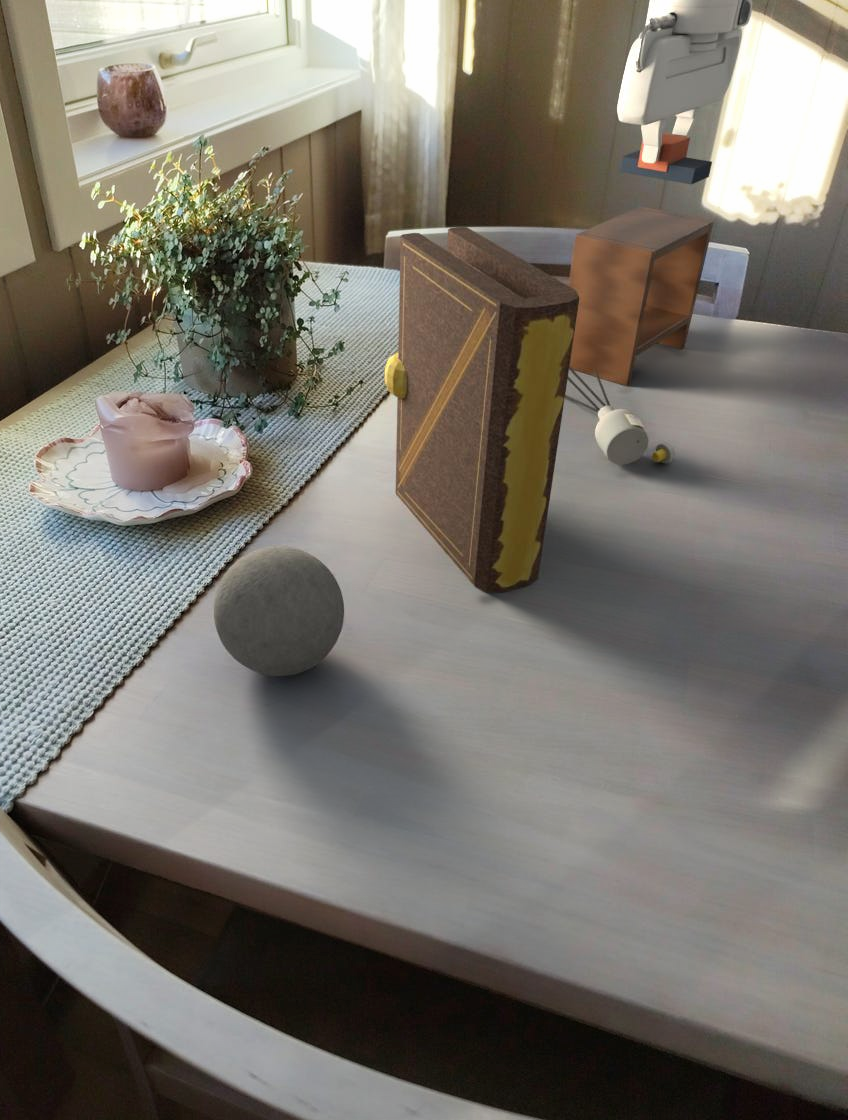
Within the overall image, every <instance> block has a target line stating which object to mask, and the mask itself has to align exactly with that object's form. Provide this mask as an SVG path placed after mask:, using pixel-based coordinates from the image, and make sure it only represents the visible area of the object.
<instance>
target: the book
mask: <svg viewBox="0 0 848 1120" xmlns="http://www.w3.org/2000/svg"><path fill="white" fill-rule="evenodd" d="M399 243H400V244H399V245H400V246H399V248H400V249H399V293H398V294H399V297H398V298H399V301H398V347H397V348H398V349H397V350H398V351H397V352H395V353H394V354H393V355H391V356H390V357H389V358H388V359H387V361H386V364H385V368H384V383H385V387H386V389H387V391H388V392H389V393H390V394H391V395H393V396H394V397H396V398H397V399H396V401H397V402H396V403H397V404H396V448H395V449H396V451H395V452H396V454H395V456H396V459H395V495H396V496H397V497H398V499H400V500H401V502H402V504H404V505H405V506H406V508H407V509H408V510H409V511H410V513H412V514H413V516H414V517H415V518H416V519H417V520H418V522H419V523H420V524H421V525H422V526H423V528H424V529H425V530H426V532H428V533H429V535H430V536H431V537H432V538H433V539H434V541H435V542H436V543H437V544H438V545H439V547H440V548H441V549H442V550H443V551H444V553H446V555H447V556H448V557H449V558H450V559H451V561H452V562H453V563H454V565H456V567H457V568H458V569H459V570H460V571H461V572H462V573H463V574H464V576H465V577H466V578H467V579H468V580H469V582H470V583H471V584H472V585H473V587H475V588H478V590H479V589H480V590H481V591H483V592H485V593H505V592H509V591H512V590H516V589H521V588H524V587H528V586H530V585H531V584H532V583H534V582H535V581H537V580H538V579H539V575H540V569H541V560H542V553H543V547H544V541H545V534H546V527H547V521H548V514H549V507H550V501H551V494H552V488H553V487H552V486H553V482H554V481H553V480H554V473H555V466H556V460H557V459H556V458H557V452H558V446H559V438H560V432H561V427H562V426H561V425H562V420H563V419H562V418H563V412H564V407H565V406H564V405H565V400H566V397H565V395H566V392H567V385H568V377H569V371H570V370H569V366H570V359H571V352H572V345H573V339H574V332H575V325H576V318H577V311H578V305H579V298H580V297H579V295H578V293H577V291H576V290H574V289H573V288H571V287H569V284H568V285H567V284H566V283H564V282H563V281H561V280H559V279H557V278H555V277H554V276H551V275H550V274H548V273H547V272H545V271H544V270H542V269H541V268H538V267H537V266H535V265H533V264H531V263H530V262H528V261H526V260H524V259H523V258H521V257H520V256H517V255H516V254H514V253H513V252H510V251H509V250H508V249H505V248H504V247H502V246H501V245H499V244H497V243H496V242H493V241H491V240H490V239H488V238H487V237H484V235H481V234H480V233H478V232H476V231H474V230H472V229H471V228H469V227H467V226H457V227H450V228H448V229H447V244H446V249H445V248H443V247H441V246H440V245H439V244H437V243H435V242H434V241H432V240H431V239H429V238H428V237H426V236H424V234H421V233H419V232H409V233H403V234H401V235H400V242H399Z"/></svg>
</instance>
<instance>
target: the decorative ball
mask: <svg viewBox="0 0 848 1120" xmlns="http://www.w3.org/2000/svg"><path fill="white" fill-rule="evenodd" d="M344 602H345V601H344V598H343V593H342V590H341V587H340V585H339V583H338V580H337V579H336V577H335V575H334V574H333V573H332V571H331V570H330V569H329V568H328V566H327V565H325V564H324V563H323V561H321V560H320V559H319V558H317V557H316V556H314V555H313V554H311V553H309V552H308V551H305V550H303V549H299V548H296V547H293V546H288V545H287V546H286V545H270V546H266V547H261V548H258V549H256V550H253V551H250V552H248V553H247V554H245V555H243V556H242V557H240V558H239V559H238V560H236V561H234V563H233V564H232V565H231V566H230V567H229V569H228V570H227V571H226V573H225V574H224V575H223V577H222V578H221V580H220V582H219V585H218V587H217V589H216V592H215V595H214V600H213V620H214V621H213V622H214V627H215V629H216V633H217V637H218V638H219V640H220V642H221V644H222V646H223V647H224V649H225V650H226V651H227V652H228V654H229V655H230V656H231V657H232V658H233V659H234V660H235V661H236V662H237V663H239V664H241V665H242V666H243V667H244V668H246V669H249V670H250V671H253V672H256V673H259V674H262V675H265V676H273V677H285V676H287V677H288V676H293V675H297V674H300V673H303V672H305V671H308V670H309V669H311V668H313V667H314V666H316V665H318V664H319V663H320V662H322V661H323V660H324V659H325V658H326V657H327V656H328V654H329V653H330V652H331V651H332V650H333V648H334V647H335V645H336V643H337V642H338V640H339V637H340V635H341V632H342V629H343V626H344V619H345V603H344Z"/></svg>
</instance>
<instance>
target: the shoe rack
mask: <svg viewBox="0 0 848 1120" xmlns="http://www.w3.org/2000/svg"><path fill="white" fill-rule="evenodd" d="M714 224H715V221H714V219H713V220H712V219H708V218H702V217H698V216H692V215H688V214H682V213H678V212H672V211H669V210H662V209H657V208H651V207H647V206H641V205H640V206H638V207H635V208H634V209H631V210H629V211H626V212H624V213H622V214H620V215H617V216H615V217H612V218H611V219H608V220H606V221H604V222H602V223H599V224H597V225H595V226H592V227H590V228H588V229H586V230H583V231H581V232H579V233H576V234H575V235H574V236H575V237H574V243H573V249H572V250H573V251H572V258H571V265H570V273H569V280H568V286H569V287H571V288H573V289H574V290H576V291H577V293H578V295H579V297H580V298H579V305H578V311H577V318H576V325H575V332H574V339H573V345H572V352H571V359H570V367H571V368H572V369H573V370H574V371H575V372H576V371H577V372H580V373H584V374H586V375H589V376H593V377H596V374H595V372H594V370H596V371H597V373H598V376H599V378H600V379H603V380H605V381H608V382H612V383H615V384H618V385H622V386H624V387H628V386H629V385H631V383H632V378H633V372H634V367H635V362H636V357H637V356H639V355H641V354H642V353H644V352H645V351H646V350H648V349H650V348H651V347H653V346H654V345H657V344H660V345H664V346H667V347H671V348H675V349H678V350H683V349H684V348H686V343H687V340H688V336H689V331H690V326H691V322H692V317H693V315H694V314H693V313H694V310H695V305H696V301H697V297H698V292H699V287H700V284H701V279H702V275H703V270H704V266H705V262H706V257H707V254H708V249H709V244H710V239H711V236H712V233H713V232H712V231H713V226H714Z"/></svg>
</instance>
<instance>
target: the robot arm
mask: <svg viewBox="0 0 848 1120" xmlns="http://www.w3.org/2000/svg"><path fill="white" fill-rule="evenodd" d="M752 11H753V1H752V0H649V3H648V8H647V15H646V22H645V26H644V28H643V30H642V31H641V32H640V33H639V36H638V37H637V38H636V39H635V41H633V43H632V45H631V48H630V50H629V52H628V56H627V60H626V64H625V67H624V72H623V76H622V81H621V86H620V90H619V95H618V101H617V107H616V112H617V118H618V121H619V122H620V123H624V124H630V125H639V126H640V127H641V128H640V130H641V137H642V140H643V143H644V148H643V154H642V161H643V162H645V163H651V164H653V163H656V162H658V161H660V160H661V159H662V155H663V154H662V153H663V150H664V144H662V133H663V130H665V128H666V125H667V119H669V118H672V117H674V116H675V117H676V120H675V123H674V127H673V129H672V132H671V133H670V135H676V136H683V137H689V136H690V135H691V133H692V131H693V128H694V126H695V124H696V121H697V120H698V117H699V113H700V108H701V107H704V106H707V105H711V104H713V103H717V102H719V101H721V100H723V99H724V97H725V95H726V94H727V92H728V89H729V87H730V84H731V81H732V78H733V74H734V71H735V68H736V64H737V60H738V56H739V52H740V47H741V43H742V39H743V29H742V27H745V26H747V25H748V24H749V22H750V20H751V15H752Z"/></svg>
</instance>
